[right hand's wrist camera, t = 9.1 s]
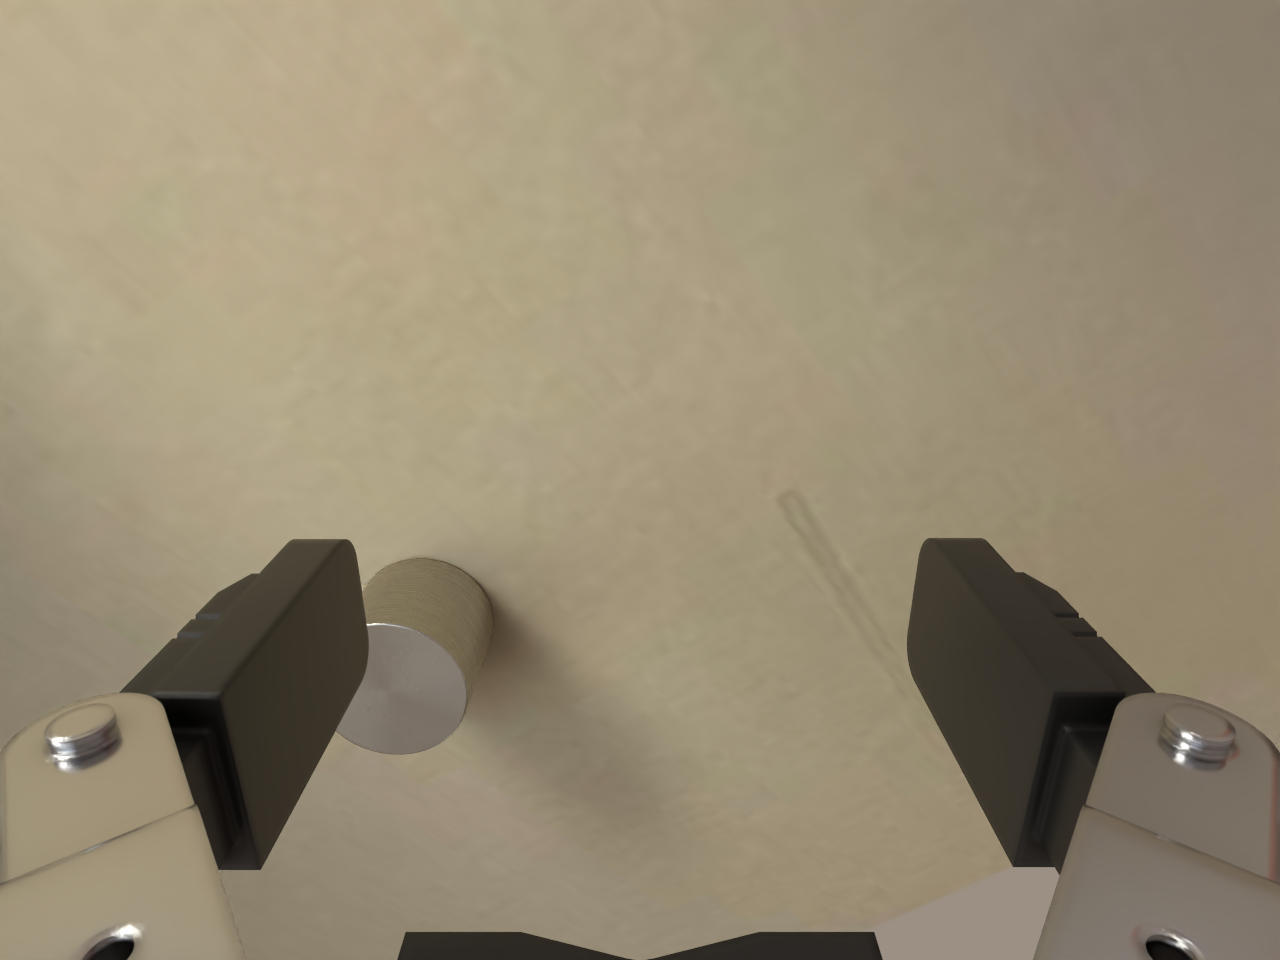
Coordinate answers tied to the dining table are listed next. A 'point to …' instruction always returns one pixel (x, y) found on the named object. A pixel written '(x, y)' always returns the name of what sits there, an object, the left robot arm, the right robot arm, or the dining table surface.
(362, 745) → the tin
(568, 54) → the dining table surface
